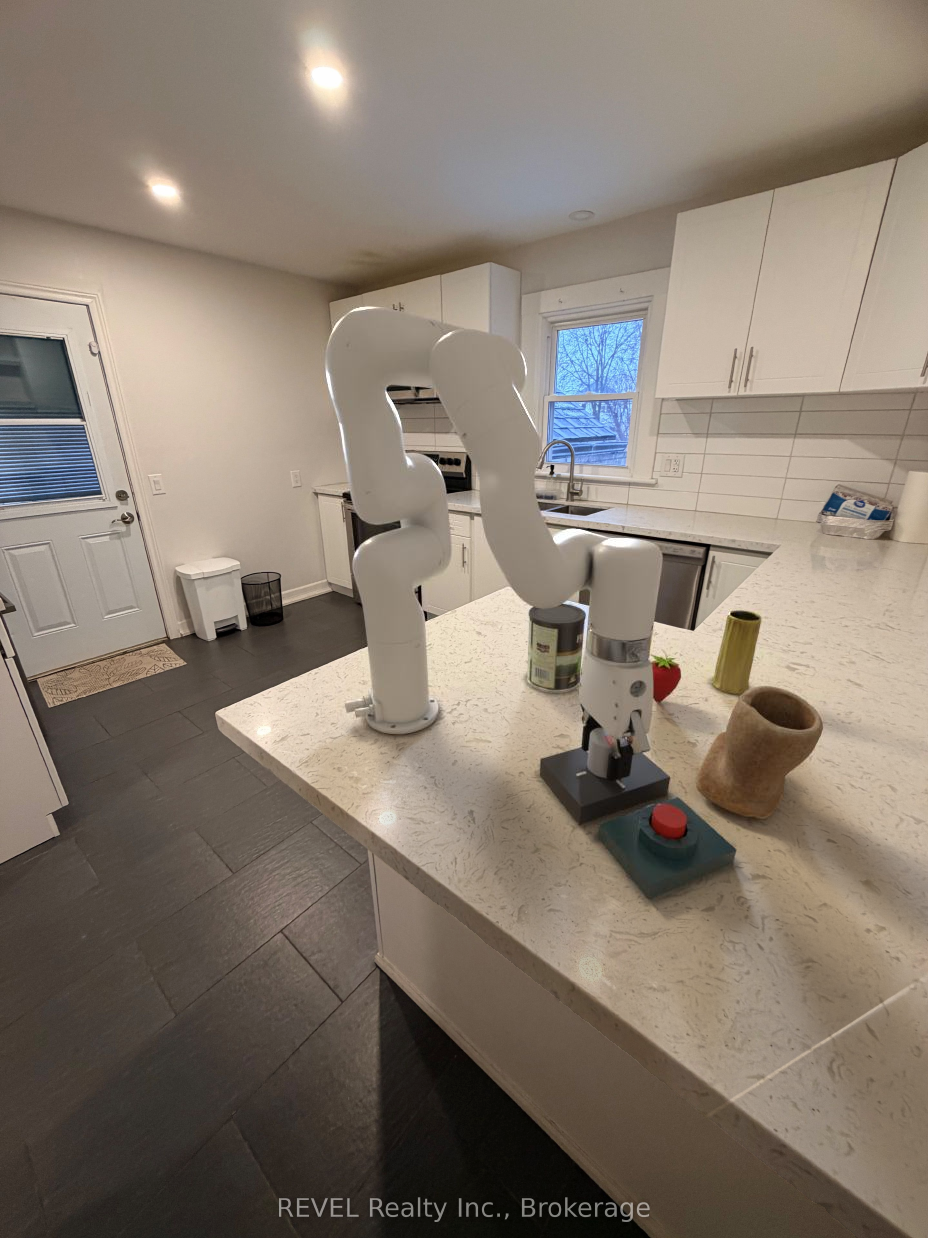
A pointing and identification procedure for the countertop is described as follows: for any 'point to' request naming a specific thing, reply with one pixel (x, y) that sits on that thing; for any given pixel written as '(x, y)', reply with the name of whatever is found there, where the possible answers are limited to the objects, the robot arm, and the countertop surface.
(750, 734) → the stone cup
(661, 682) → the strawberry
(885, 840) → the countertop surface
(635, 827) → the button block
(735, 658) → the vase
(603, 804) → the hob panel
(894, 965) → the countertop surface
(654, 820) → the button
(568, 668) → the coffee can
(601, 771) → the hob knob
